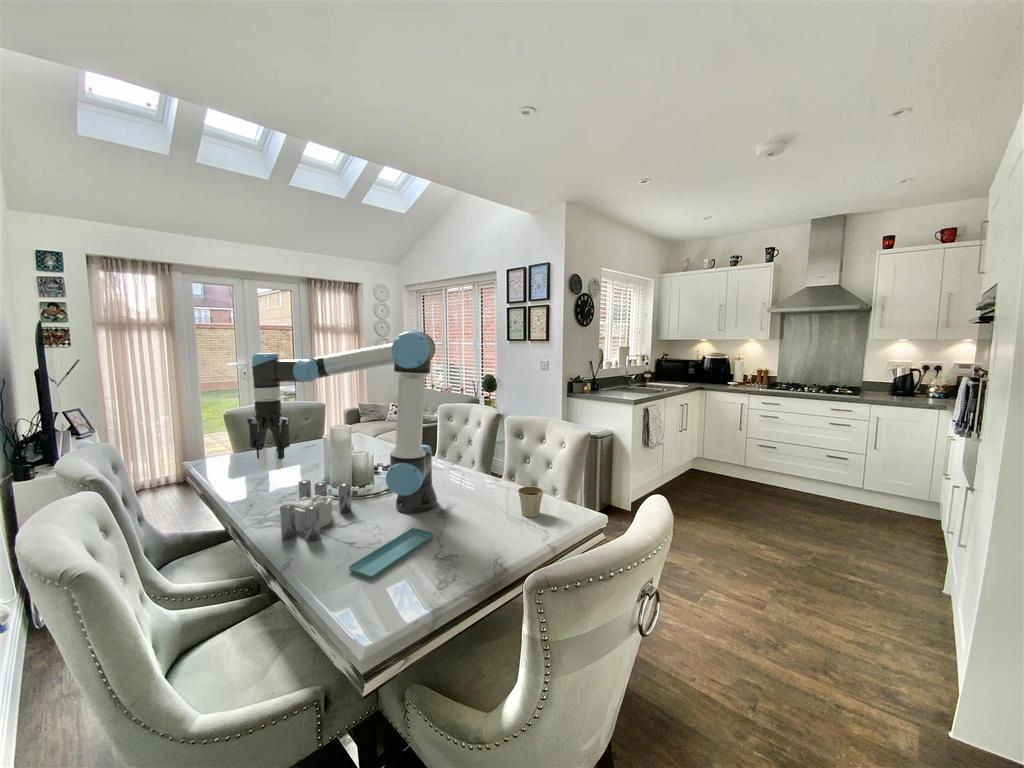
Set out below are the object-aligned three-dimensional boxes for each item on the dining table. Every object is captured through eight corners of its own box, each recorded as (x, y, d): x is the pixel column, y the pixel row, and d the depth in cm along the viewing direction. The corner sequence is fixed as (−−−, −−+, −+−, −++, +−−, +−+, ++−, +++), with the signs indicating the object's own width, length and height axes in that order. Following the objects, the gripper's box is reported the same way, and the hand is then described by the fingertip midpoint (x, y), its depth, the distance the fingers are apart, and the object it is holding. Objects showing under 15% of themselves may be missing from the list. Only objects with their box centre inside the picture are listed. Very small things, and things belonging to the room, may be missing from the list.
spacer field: (355, 507, 153) (354, 481, 152) (315, 541, 127) (314, 510, 126) (303, 505, 155) (302, 479, 154) (254, 538, 129) (252, 507, 128)
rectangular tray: (371, 583, 106) (371, 574, 106) (346, 574, 110) (346, 565, 110) (435, 540, 129) (435, 533, 129) (413, 534, 133) (412, 527, 133)
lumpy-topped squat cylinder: (285, 528, 137) (284, 502, 136) (318, 513, 148) (317, 490, 147) (307, 534, 132) (306, 508, 131) (340, 518, 144) (339, 494, 143)
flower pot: (549, 513, 148) (549, 490, 148) (532, 522, 142) (532, 497, 141) (529, 506, 155) (529, 484, 154) (512, 514, 148) (512, 490, 147)
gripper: (300, 398, 140) (303, 465, 143) (250, 397, 142) (254, 464, 144) (286, 401, 133) (289, 472, 135) (233, 400, 134) (238, 470, 137)
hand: (271, 468), depth 140 cm, fingers open, 5 cm apart
